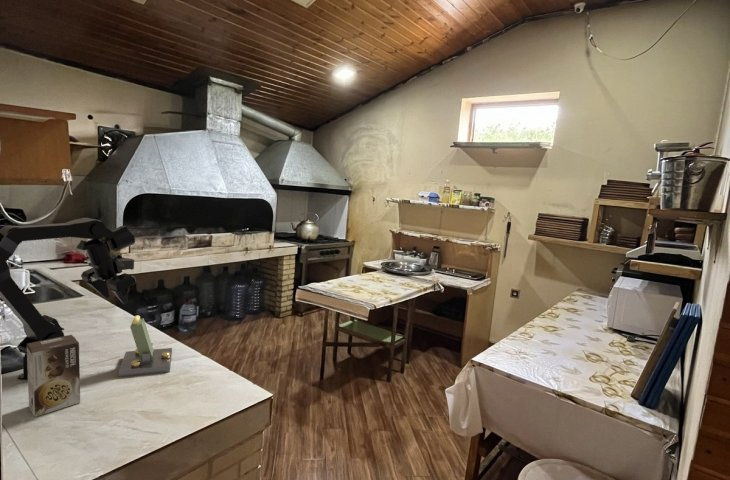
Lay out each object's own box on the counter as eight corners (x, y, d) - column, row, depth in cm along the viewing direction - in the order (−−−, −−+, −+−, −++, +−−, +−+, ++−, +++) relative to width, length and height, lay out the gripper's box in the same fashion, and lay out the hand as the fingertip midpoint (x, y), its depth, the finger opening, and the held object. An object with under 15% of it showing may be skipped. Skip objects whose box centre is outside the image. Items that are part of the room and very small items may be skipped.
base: (118, 377, 110) (118, 359, 109) (126, 357, 121) (126, 341, 121) (169, 372, 115) (170, 355, 114) (172, 353, 127) (172, 338, 126)
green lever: (141, 362, 115) (128, 322, 112) (143, 355, 120) (131, 316, 117) (152, 359, 116) (140, 319, 113) (154, 351, 121) (142, 313, 118)
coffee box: (73, 393, 100) (72, 333, 98) (81, 403, 96) (80, 341, 94) (27, 406, 93) (25, 342, 91) (33, 417, 89) (32, 351, 87)
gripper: (144, 251, 121) (157, 293, 127) (107, 243, 129) (121, 283, 135) (110, 266, 112) (125, 311, 118) (72, 257, 120) (89, 299, 126)
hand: (116, 300), depth 125 cm, fingers open, 9 cm apart
